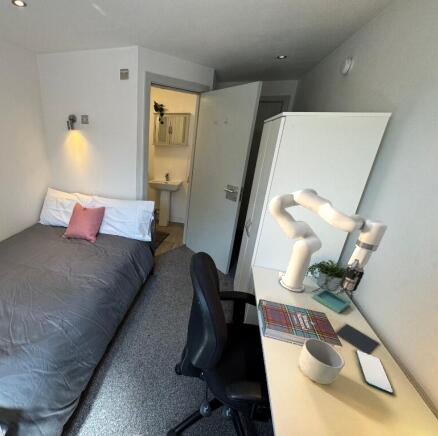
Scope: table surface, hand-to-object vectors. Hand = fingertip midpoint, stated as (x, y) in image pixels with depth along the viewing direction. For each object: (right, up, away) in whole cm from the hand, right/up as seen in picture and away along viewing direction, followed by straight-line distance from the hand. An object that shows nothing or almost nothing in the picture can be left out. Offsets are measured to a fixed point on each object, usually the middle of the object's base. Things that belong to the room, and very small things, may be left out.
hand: (352, 276), depth 115 cm
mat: (-6, -27, -9) cm, 29 cm away
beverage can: (0, -7, +3) cm, 7 cm away
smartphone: (-14, -32, -24) cm, 42 cm away
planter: (-38, -31, -26) cm, 56 cm away
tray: (0, -18, +14) cm, 23 cm away
